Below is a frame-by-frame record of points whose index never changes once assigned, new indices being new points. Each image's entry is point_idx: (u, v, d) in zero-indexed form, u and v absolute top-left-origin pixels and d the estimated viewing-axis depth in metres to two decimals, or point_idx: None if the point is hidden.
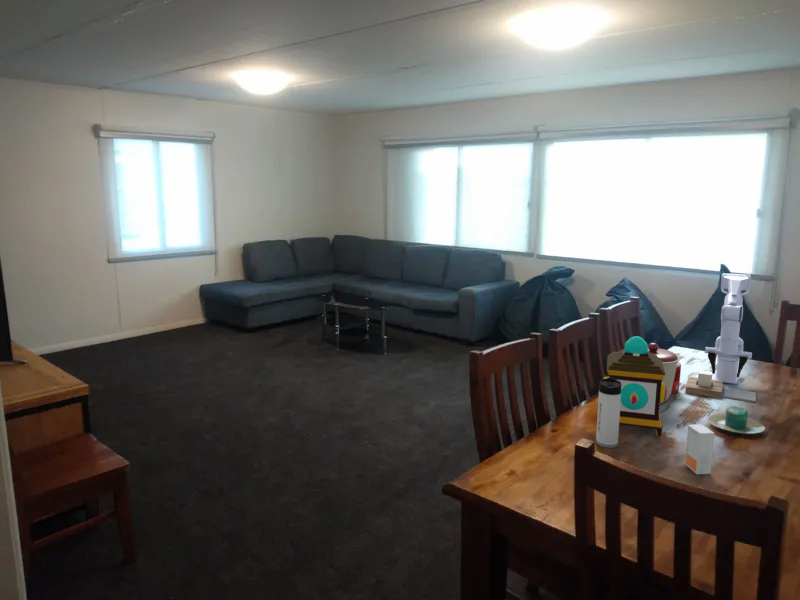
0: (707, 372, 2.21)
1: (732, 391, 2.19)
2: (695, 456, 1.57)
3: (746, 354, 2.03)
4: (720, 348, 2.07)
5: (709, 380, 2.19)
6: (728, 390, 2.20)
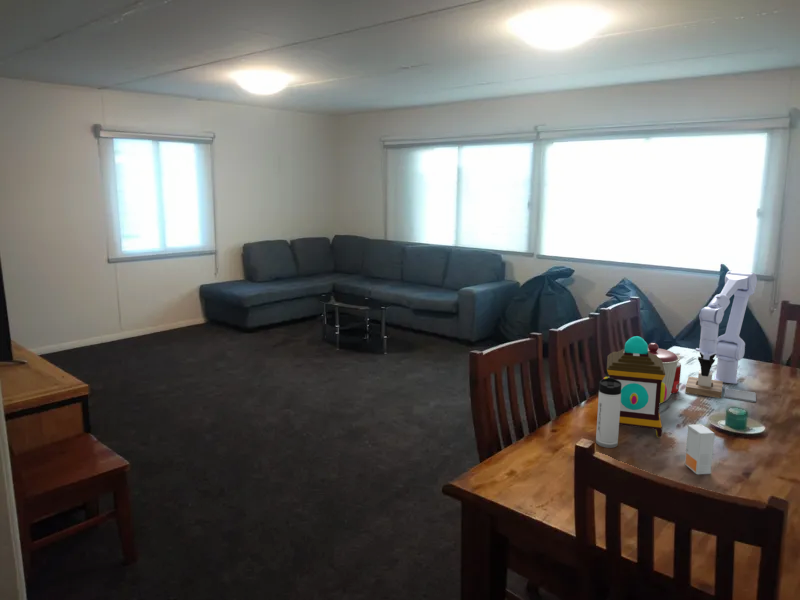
0: None
1: (732, 391, 2.19)
2: (695, 456, 1.57)
3: (703, 354, 2.15)
4: None
5: (709, 380, 2.19)
6: (728, 390, 2.20)
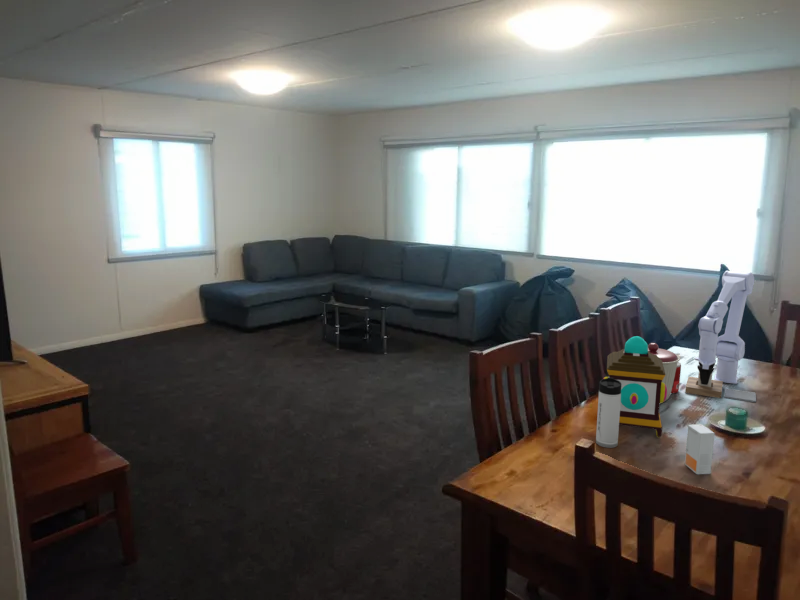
0: None
1: (732, 391, 2.19)
2: (695, 456, 1.57)
3: (702, 363, 2.16)
4: None
5: (709, 380, 2.19)
6: (728, 390, 2.20)
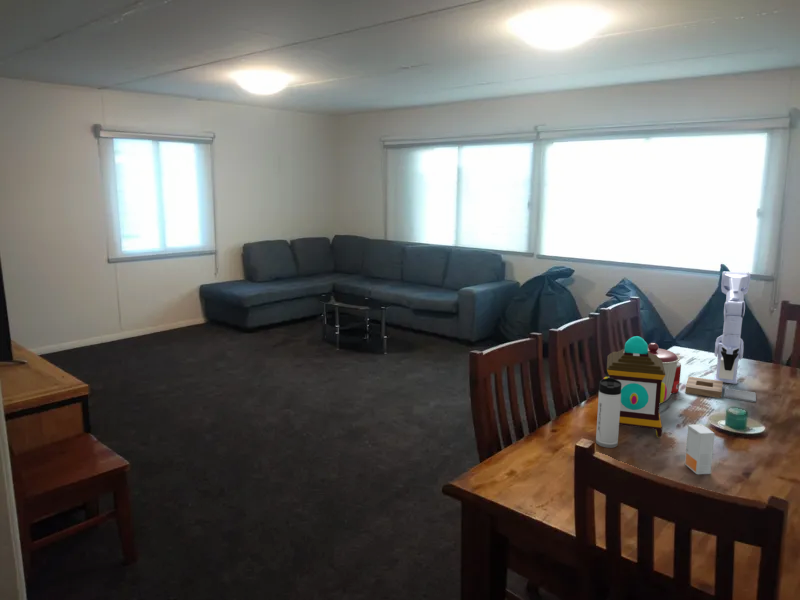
0: None
1: (732, 391, 2.19)
2: (695, 456, 1.57)
3: (726, 348, 2.11)
4: None
5: None
6: (728, 390, 2.20)
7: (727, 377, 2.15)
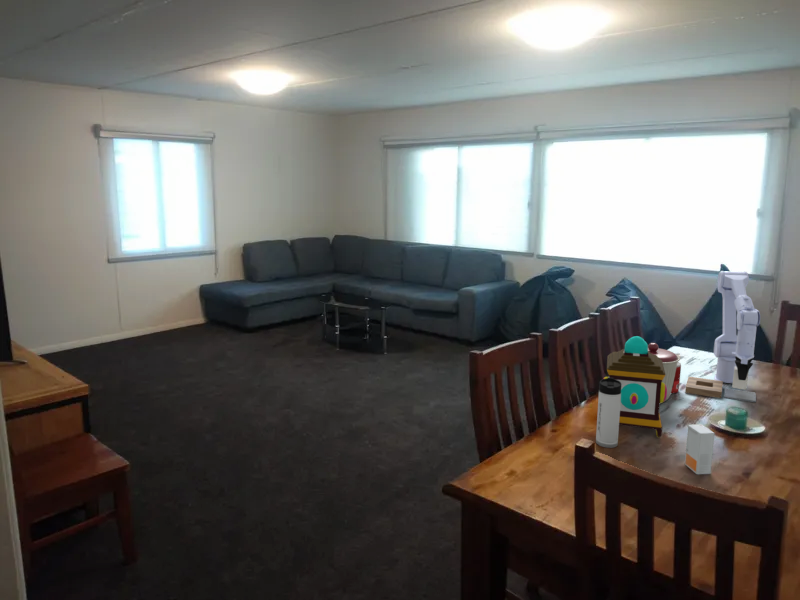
0: None
1: (732, 391, 2.19)
2: (695, 456, 1.57)
3: (740, 358, 2.08)
4: None
5: None
6: (728, 390, 2.20)
7: (741, 387, 2.13)
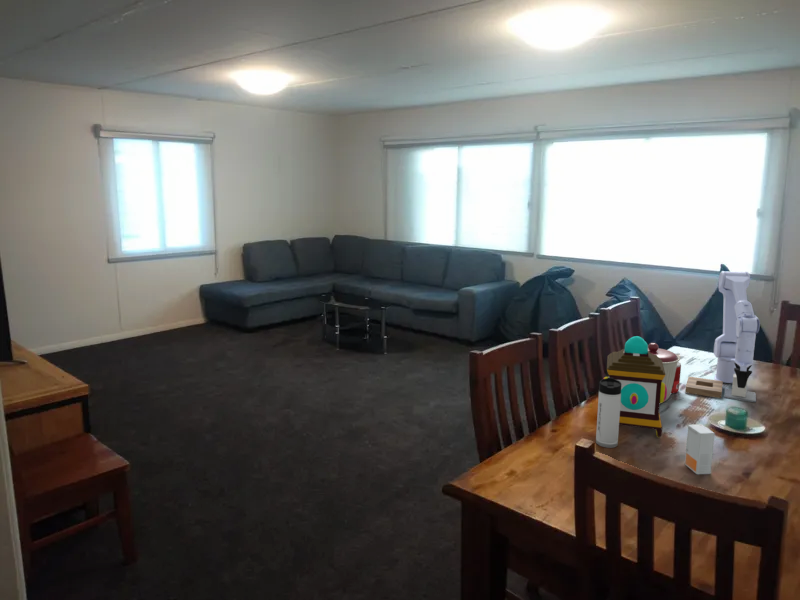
0: None
1: None
2: (695, 456, 1.57)
3: (739, 365, 2.09)
4: None
5: None
6: (728, 390, 2.20)
7: (740, 394, 2.14)
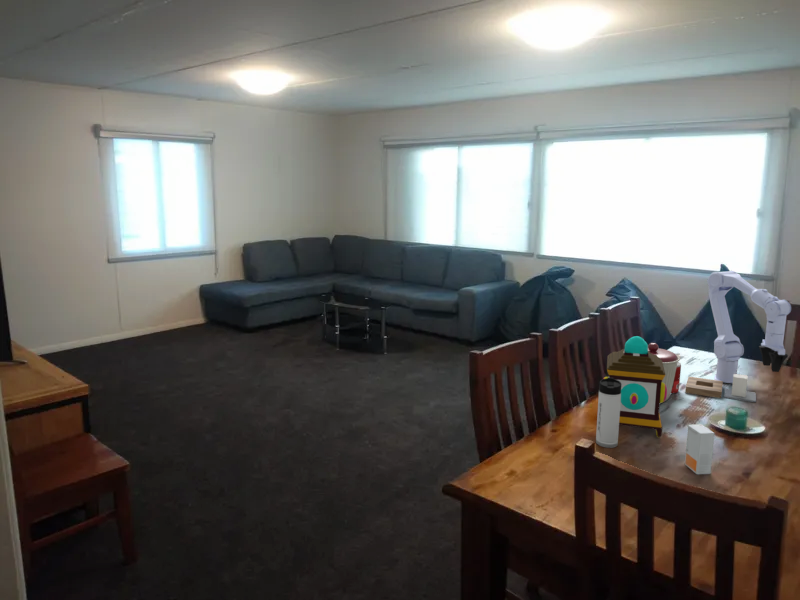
0: (742, 376, 2.15)
1: None
2: (695, 456, 1.57)
3: (776, 349, 2.07)
4: None
5: (745, 384, 2.12)
6: (728, 390, 2.20)
7: (740, 394, 2.14)
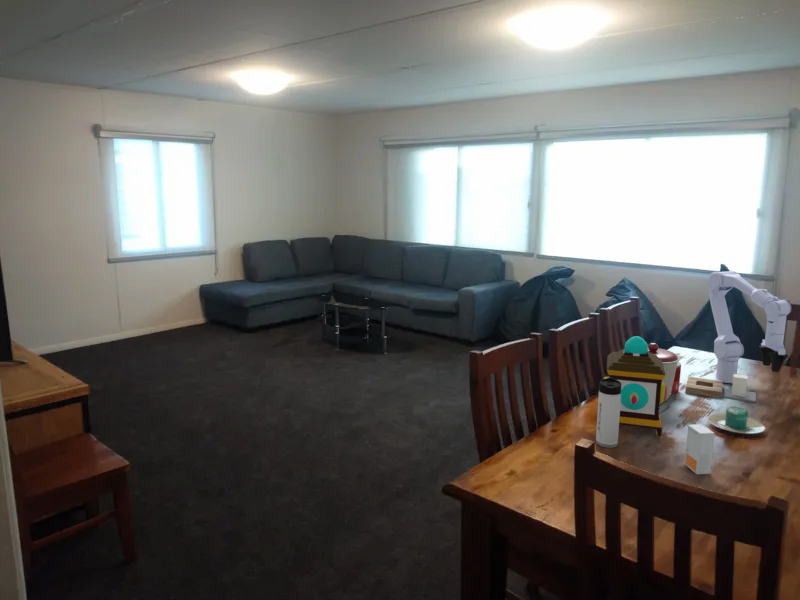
0: (742, 376, 2.15)
1: None
2: (695, 456, 1.57)
3: (776, 349, 2.07)
4: None
5: (745, 384, 2.12)
6: (728, 390, 2.20)
7: (740, 394, 2.14)
